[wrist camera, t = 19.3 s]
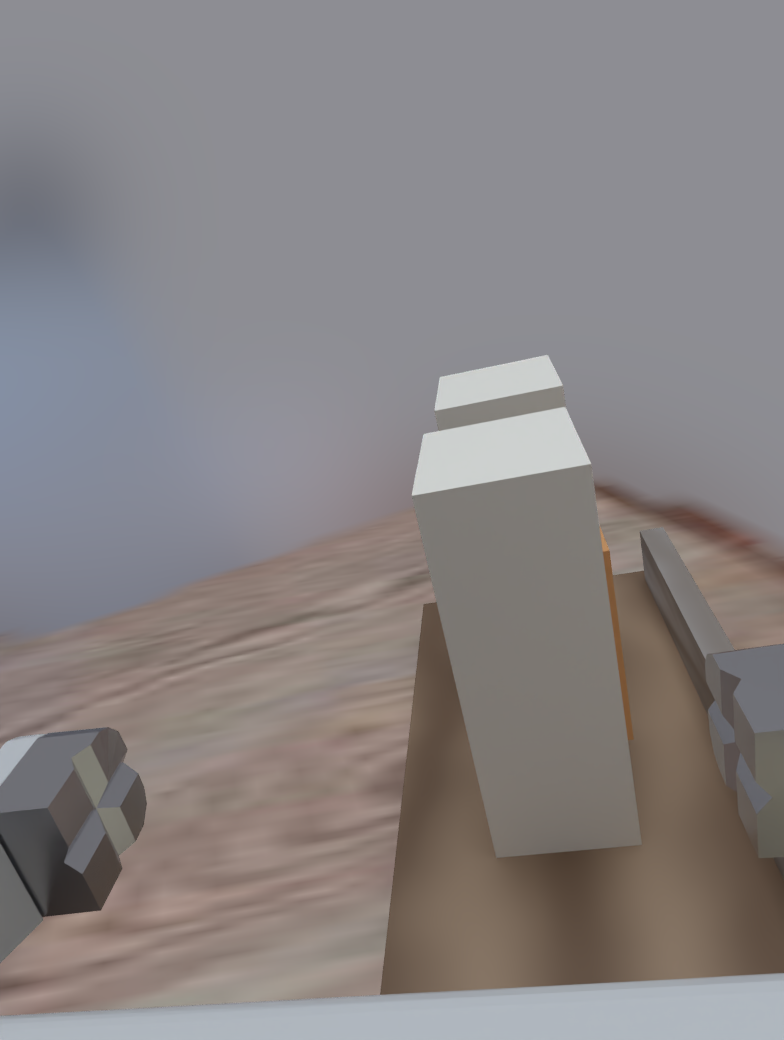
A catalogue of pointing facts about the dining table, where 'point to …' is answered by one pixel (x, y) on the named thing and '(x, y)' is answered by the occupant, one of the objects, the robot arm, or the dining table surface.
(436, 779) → the shelf board
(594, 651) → the cream carton
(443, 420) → the carton
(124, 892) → the dining table surface
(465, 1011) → the robot arm
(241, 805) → the dining table surface
